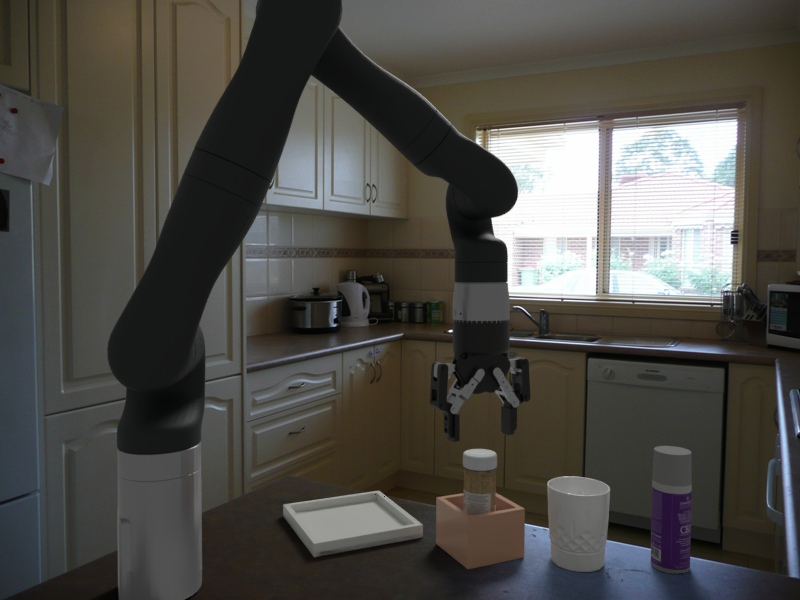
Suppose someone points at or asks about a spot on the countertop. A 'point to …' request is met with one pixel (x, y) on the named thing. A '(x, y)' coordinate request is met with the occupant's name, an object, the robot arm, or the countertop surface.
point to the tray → (350, 523)
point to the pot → (480, 531)
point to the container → (671, 509)
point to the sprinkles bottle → (479, 481)
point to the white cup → (578, 522)
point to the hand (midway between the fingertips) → (481, 437)
